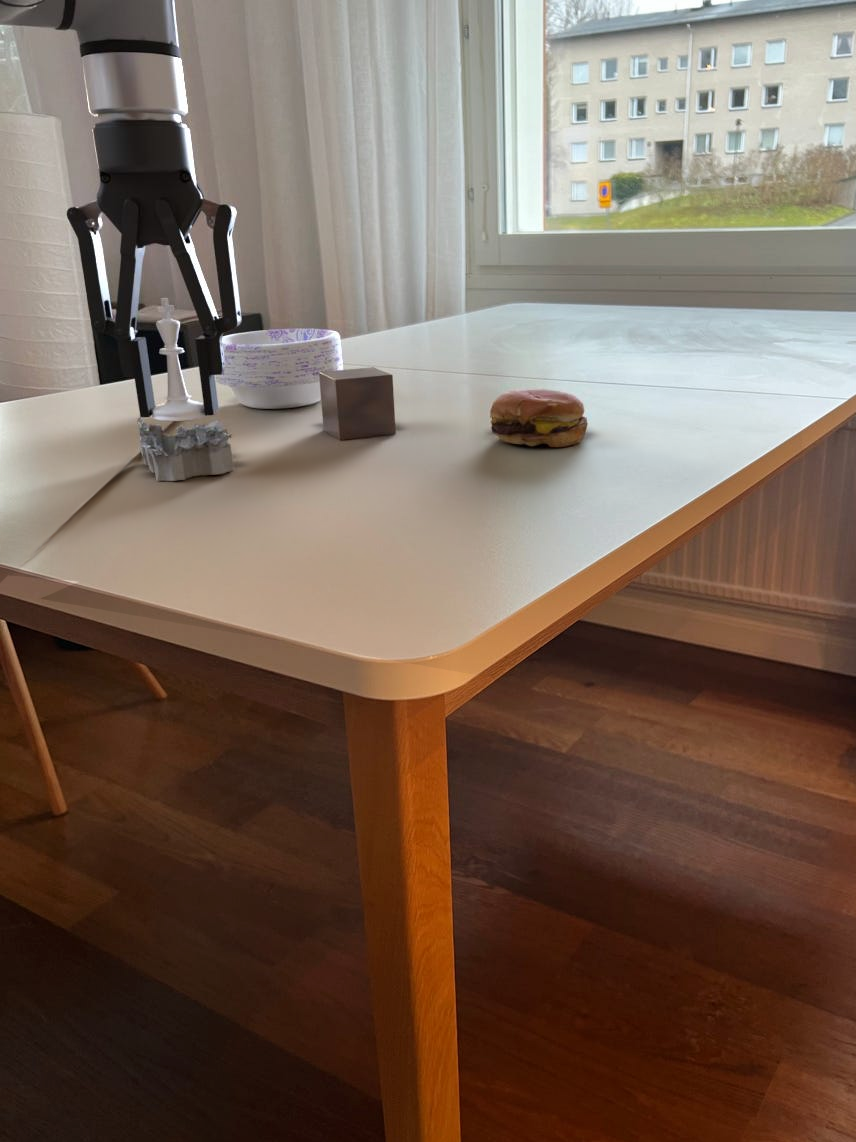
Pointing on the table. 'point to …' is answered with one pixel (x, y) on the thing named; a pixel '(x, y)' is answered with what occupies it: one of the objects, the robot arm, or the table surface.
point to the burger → (538, 418)
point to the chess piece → (174, 374)
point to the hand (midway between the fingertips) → (180, 412)
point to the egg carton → (186, 451)
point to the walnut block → (357, 403)
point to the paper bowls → (279, 366)
